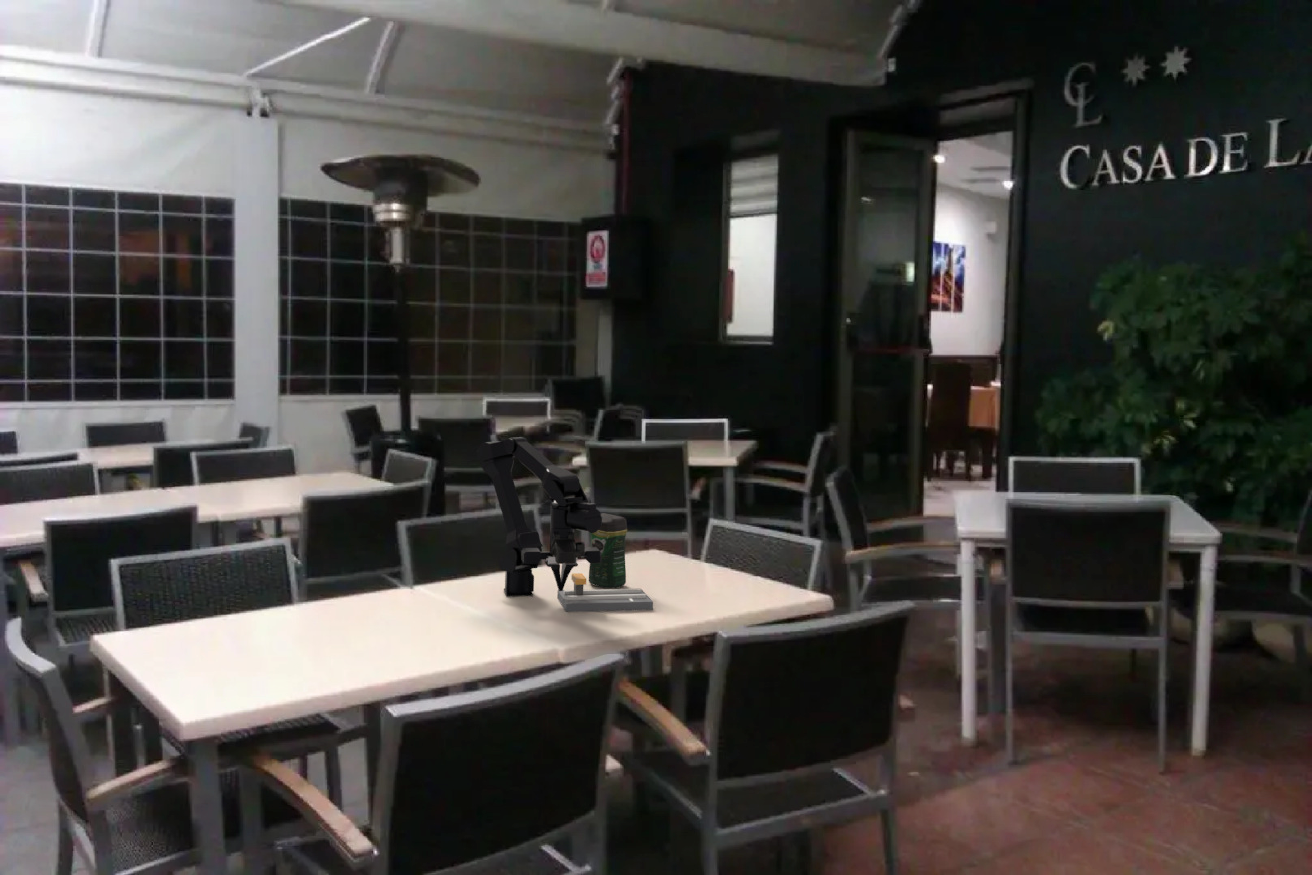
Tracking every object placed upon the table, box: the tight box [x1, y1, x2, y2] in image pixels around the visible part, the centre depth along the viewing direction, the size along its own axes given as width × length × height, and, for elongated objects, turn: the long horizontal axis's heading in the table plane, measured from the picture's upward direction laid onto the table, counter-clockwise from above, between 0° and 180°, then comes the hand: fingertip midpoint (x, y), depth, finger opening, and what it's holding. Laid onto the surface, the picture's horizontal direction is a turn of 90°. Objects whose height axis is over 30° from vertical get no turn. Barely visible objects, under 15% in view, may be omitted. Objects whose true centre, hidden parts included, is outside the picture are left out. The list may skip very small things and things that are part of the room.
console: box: [557, 587, 654, 613], centre depth 272 cm, size 21×13×3 cm, turn 104°
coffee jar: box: [588, 512, 628, 589], centre depth 290 cm, size 10×8×19 cm
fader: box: [571, 572, 587, 596], centre depth 270 cm, size 3×6×5 cm, turn 14°
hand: (560, 590), depth 269 cm, fingers closed
